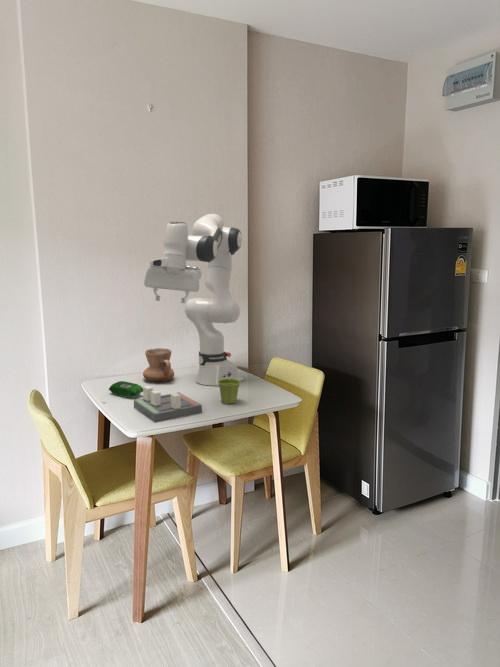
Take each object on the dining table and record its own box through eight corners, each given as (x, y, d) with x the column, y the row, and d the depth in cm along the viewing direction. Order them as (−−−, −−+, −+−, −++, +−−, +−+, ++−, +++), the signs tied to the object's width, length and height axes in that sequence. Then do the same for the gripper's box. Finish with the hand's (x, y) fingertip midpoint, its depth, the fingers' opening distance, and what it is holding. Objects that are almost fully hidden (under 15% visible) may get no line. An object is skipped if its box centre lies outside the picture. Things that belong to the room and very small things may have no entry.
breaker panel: (179, 399, 221) (179, 392, 220) (201, 412, 206) (201, 404, 205) (133, 407, 210) (133, 400, 209) (154, 422, 194) (154, 414, 194)
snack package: (134, 401, 218) (134, 388, 217) (107, 394, 226) (106, 382, 225) (146, 396, 224) (146, 384, 223) (119, 390, 232) (118, 378, 231)
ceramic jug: (136, 378, 250) (135, 348, 247) (163, 373, 259) (163, 345, 256) (154, 387, 236) (153, 356, 233) (182, 382, 245) (182, 352, 242)
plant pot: (220, 397, 224) (220, 377, 223) (242, 399, 223) (242, 379, 221) (215, 404, 215) (215, 384, 214) (238, 406, 214) (238, 385, 212)
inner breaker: (149, 397, 212) (149, 385, 211) (152, 400, 209) (152, 387, 208) (143, 398, 210) (143, 386, 209) (147, 401, 208) (146, 388, 207)
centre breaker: (156, 402, 206) (156, 390, 205) (160, 405, 203) (160, 392, 202) (150, 403, 205) (150, 391, 204) (154, 406, 202) (154, 393, 201)
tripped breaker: (176, 405, 203) (176, 393, 202) (180, 408, 201) (180, 395, 200) (170, 406, 202) (170, 394, 201) (174, 409, 199) (174, 396, 198)
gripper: (201, 268, 200) (198, 305, 200) (147, 263, 198) (143, 299, 198) (202, 266, 194) (198, 303, 194) (145, 260, 192) (142, 298, 191)
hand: (170, 301), depth 196 cm, fingers open, 8 cm apart
